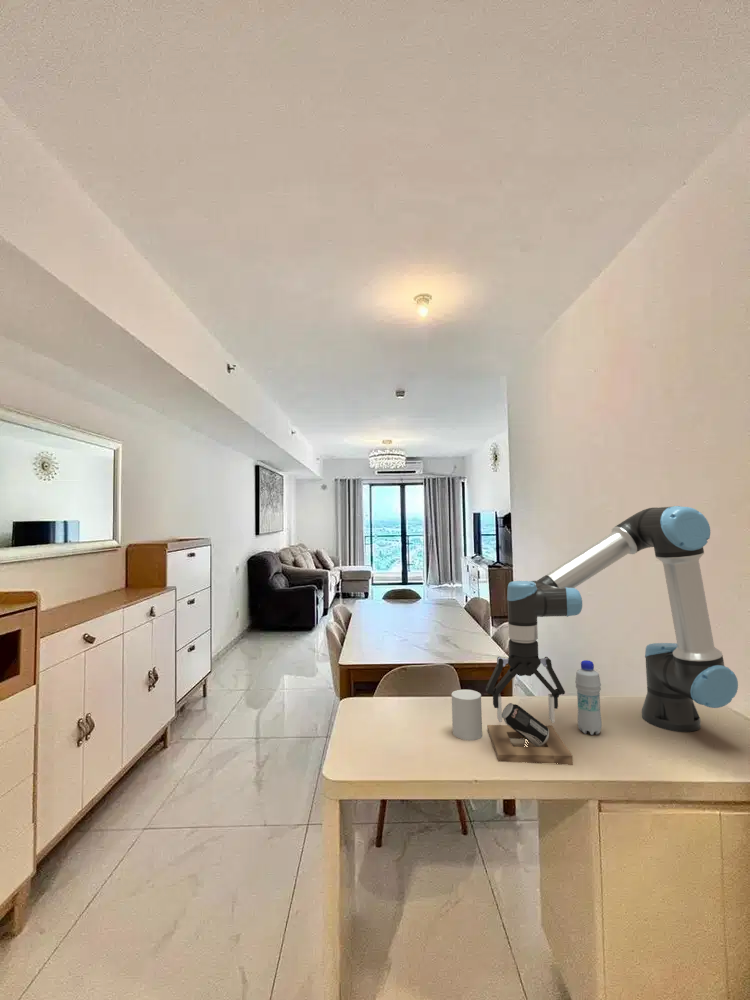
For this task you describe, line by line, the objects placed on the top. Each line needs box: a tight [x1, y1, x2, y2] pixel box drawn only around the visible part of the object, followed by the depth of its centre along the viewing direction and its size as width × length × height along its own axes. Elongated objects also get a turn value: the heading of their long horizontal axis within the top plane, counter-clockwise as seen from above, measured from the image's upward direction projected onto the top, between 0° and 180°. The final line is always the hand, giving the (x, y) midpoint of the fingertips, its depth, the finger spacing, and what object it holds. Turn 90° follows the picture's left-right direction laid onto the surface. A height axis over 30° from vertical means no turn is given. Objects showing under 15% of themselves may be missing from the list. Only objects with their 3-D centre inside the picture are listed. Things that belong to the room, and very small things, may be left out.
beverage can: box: [502, 702, 549, 747], centre depth 130 cm, size 6×6×12 cm
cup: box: [451, 689, 483, 741], centre depth 138 cm, size 8×8×12 cm
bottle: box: [575, 659, 603, 736], centre depth 140 cm, size 7×7×20 cm
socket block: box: [486, 724, 574, 766], centre depth 130 cm, size 18×18×2 cm
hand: (525, 720), depth 131 cm, fingers open, 13 cm apart
